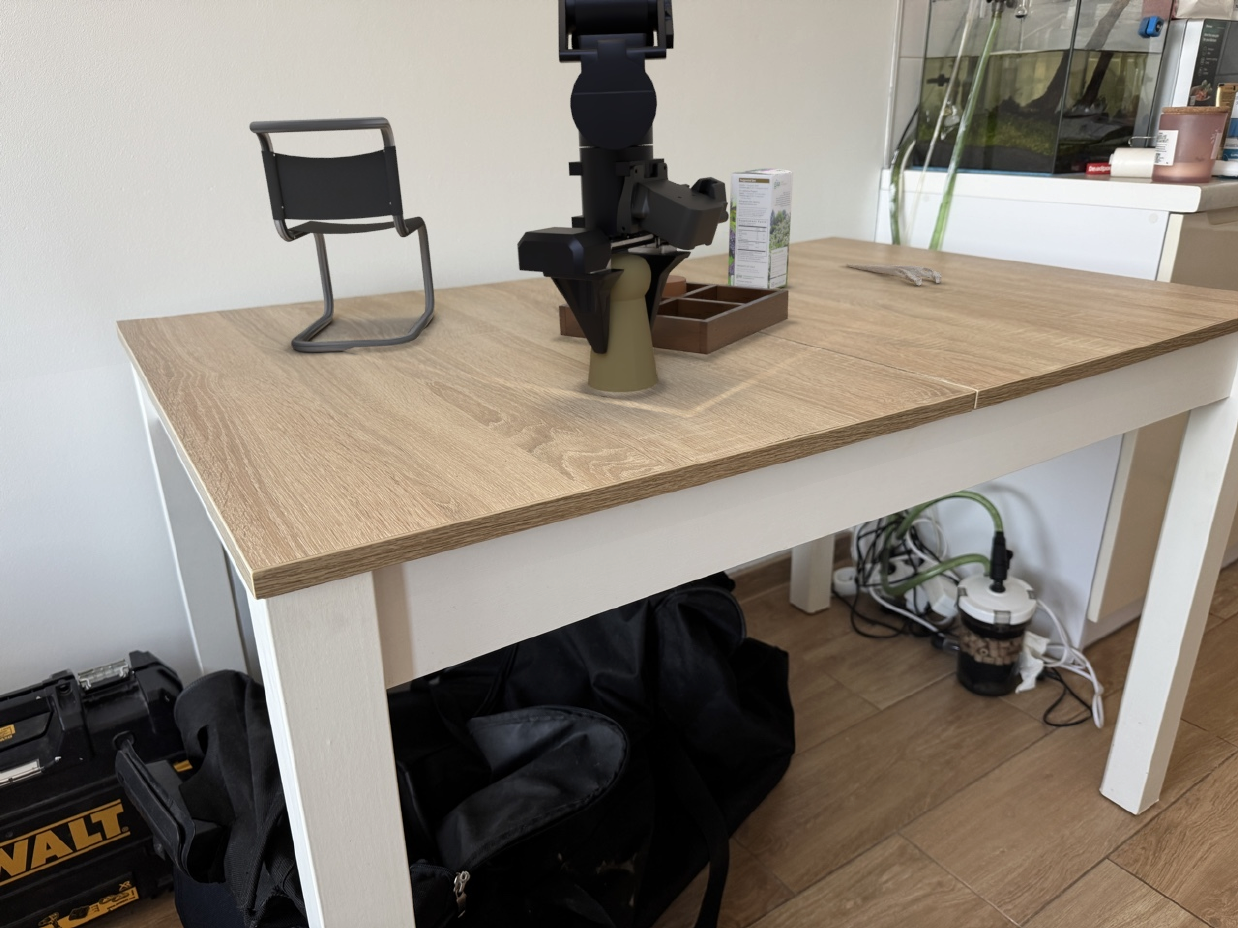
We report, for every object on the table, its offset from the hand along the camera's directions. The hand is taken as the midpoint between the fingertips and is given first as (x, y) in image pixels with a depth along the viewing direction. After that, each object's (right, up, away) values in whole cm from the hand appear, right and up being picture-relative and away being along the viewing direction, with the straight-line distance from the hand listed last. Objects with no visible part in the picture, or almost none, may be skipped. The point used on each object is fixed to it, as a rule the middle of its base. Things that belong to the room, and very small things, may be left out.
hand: (622, 345), depth 76 cm
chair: (-28, +4, +25) cm, 37 cm away
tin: (+5, +7, +26) cm, 27 cm away
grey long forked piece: (+36, +15, +47) cm, 61 cm away
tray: (+6, +4, +20) cm, 22 cm away
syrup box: (+18, +12, +41) cm, 46 cm away
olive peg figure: (0, -4, +1) cm, 4 cm away
